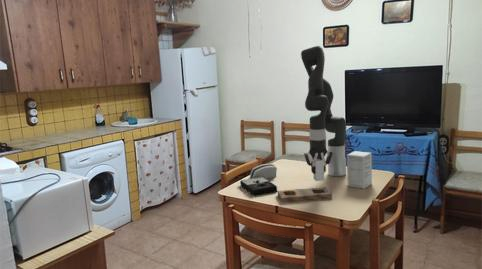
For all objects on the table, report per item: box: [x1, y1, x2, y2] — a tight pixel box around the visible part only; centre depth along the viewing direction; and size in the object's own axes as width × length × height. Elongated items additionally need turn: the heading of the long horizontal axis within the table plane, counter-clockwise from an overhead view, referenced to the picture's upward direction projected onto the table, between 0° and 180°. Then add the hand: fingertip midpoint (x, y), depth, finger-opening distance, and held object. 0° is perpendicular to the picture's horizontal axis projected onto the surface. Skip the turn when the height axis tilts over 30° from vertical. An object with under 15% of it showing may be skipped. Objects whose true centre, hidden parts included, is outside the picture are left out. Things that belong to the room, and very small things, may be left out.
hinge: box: [247, 163, 278, 180], centre depth 208 cm, size 17×5×10 cm, turn 121°
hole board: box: [277, 186, 333, 204], centre depth 176 cm, size 24×10×3 cm, turn 95°
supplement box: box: [346, 150, 373, 189], centre depth 188 cm, size 10×9×17 cm
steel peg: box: [312, 159, 325, 182], centre depth 174 cm, size 4×4×10 cm
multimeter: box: [239, 177, 278, 197], centre depth 192 cm, size 13×19×5 cm
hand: (318, 173), depth 174 cm, fingers closed on steel peg, 4 cm apart
